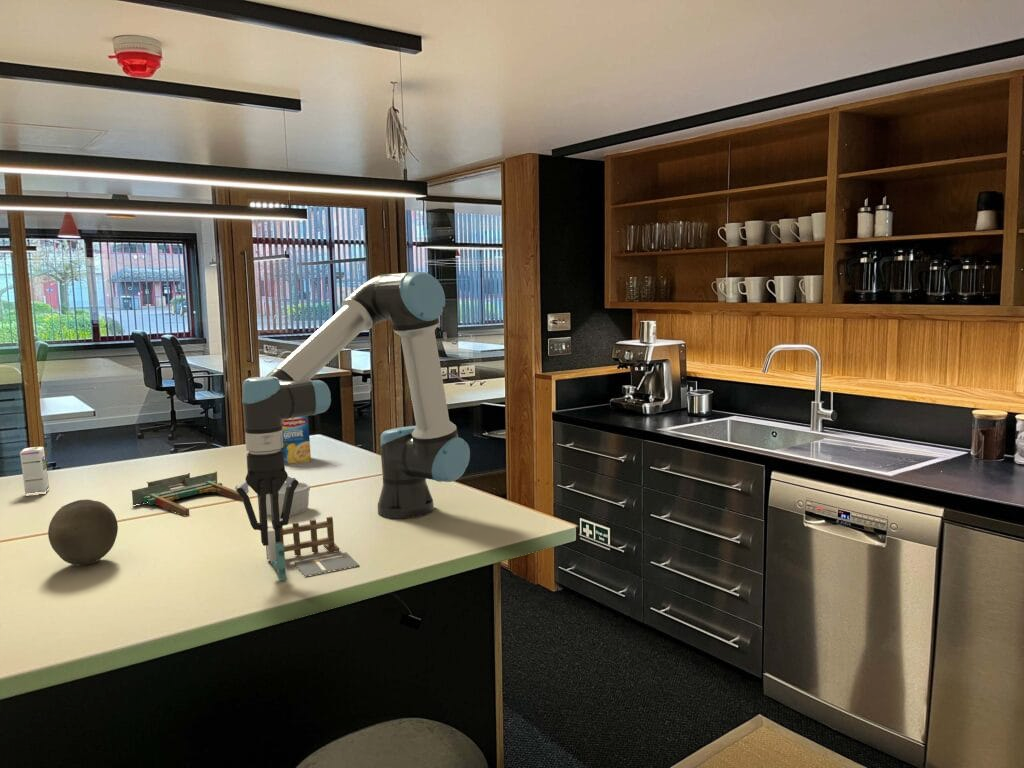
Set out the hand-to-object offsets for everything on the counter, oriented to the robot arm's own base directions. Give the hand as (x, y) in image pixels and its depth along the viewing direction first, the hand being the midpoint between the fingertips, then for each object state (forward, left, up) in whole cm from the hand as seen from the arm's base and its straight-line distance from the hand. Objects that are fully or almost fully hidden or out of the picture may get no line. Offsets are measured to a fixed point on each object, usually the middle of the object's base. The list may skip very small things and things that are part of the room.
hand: (272, 558), depth 168 cm
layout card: (-12, -1, -4) cm, 12 cm away
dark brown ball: (+35, -32, -4) cm, 48 cm away
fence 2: (-10, -11, -4) cm, 15 cm away
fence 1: (-1, -4, -4) cm, 5 cm away
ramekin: (-14, -50, -4) cm, 52 cm away
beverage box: (-31, -115, -4) cm, 119 cm away
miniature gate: (+8, -79, -5) cm, 80 cm away
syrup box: (+49, -117, -4) cm, 127 cm away
